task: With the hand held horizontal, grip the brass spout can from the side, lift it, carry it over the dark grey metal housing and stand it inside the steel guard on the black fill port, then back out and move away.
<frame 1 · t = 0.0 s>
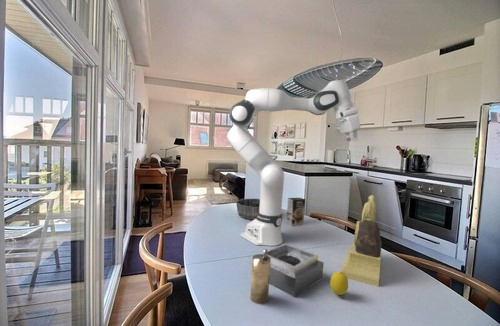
hand: (352, 141, 124), 52 cm above the table, tool tilted 20°, fingers open, 8 cm apart
bundt pan: (254, 217, 172), on the table
housing: (288, 276, 95), on the table
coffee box: (294, 224, 161), on the table
decorative clock: (361, 267, 107), on the table
lemon: (338, 295, 85), on the table
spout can: (259, 298, 81), on the table
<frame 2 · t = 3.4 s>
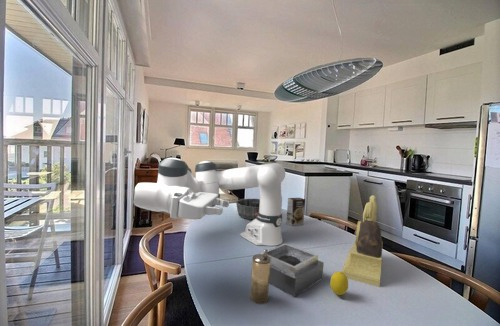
hand: (225, 207, 80), 28 cm above the table, tool horizontal, fingers open, 8 cm apart
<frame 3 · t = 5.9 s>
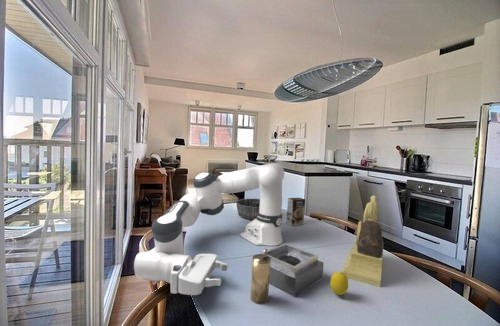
hand: (224, 274, 82), 6 cm above the table, tool horizontal, fingers open, 8 cm apart
nothing on the table moved.
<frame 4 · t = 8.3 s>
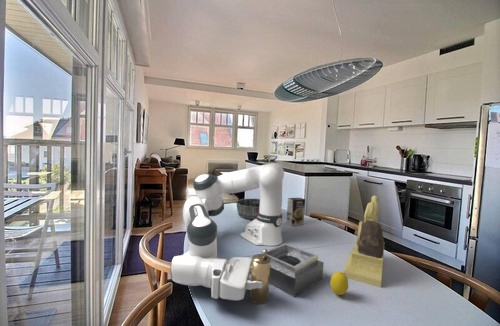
hand: (263, 278, 80), 7 cm above the table, tool horizontal, fingers closed on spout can, 6 cm apart
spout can: (259, 298, 81), on the table, touching gripper
everything else where it was.
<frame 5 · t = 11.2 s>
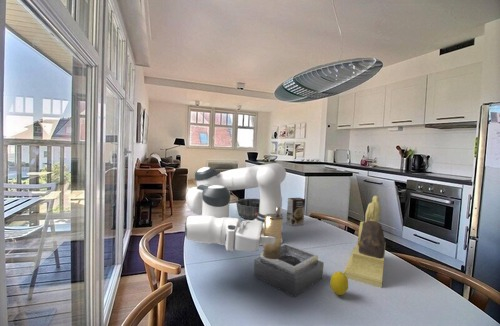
hand: (275, 235, 83), 19 cm above the table, tool horizontal, fingers closed on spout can, 6 cm apart
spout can: (271, 255, 83), point 12 cm above the table, touching gripper
when the fingers open (14 cm above the table, at t = 13.7 s): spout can drops 2 cm, resting on housing.
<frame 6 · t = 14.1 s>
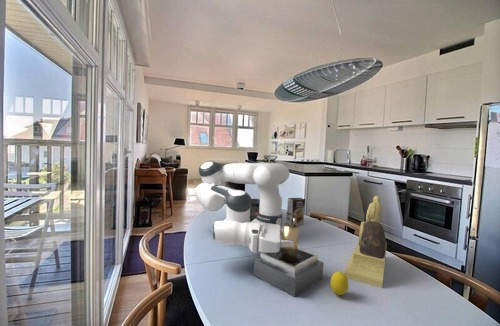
hand: (292, 238, 94), 14 cm above the table, tool horizontal, fingers open, 8 cm apart
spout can: (289, 260, 95), point 6 cm above the table, touching housing
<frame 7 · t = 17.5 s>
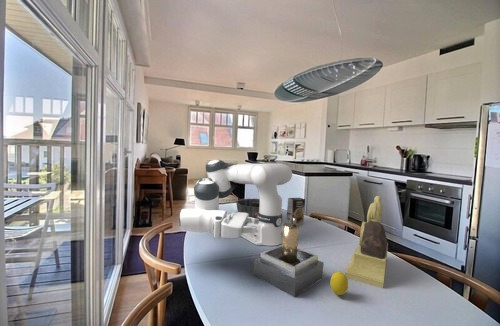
hand: (257, 225, 95), 18 cm above the table, tool horizontal, fingers open, 8 cm apart
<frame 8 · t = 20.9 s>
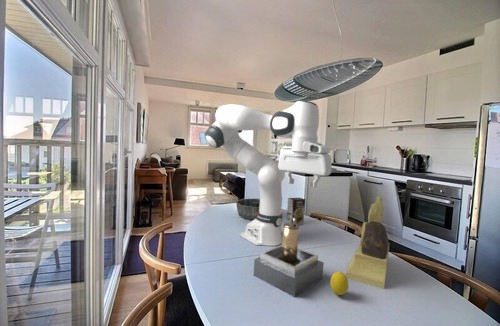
hand: (301, 185, 93), 34 cm above the table, tool pointing down, fingers open, 8 cm apart
at the end: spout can inside the target area on the housing (0.0 cm from its centre), point 6.3 cm above the housing's base; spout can tilted 0°; the gripper is holding nothing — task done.
